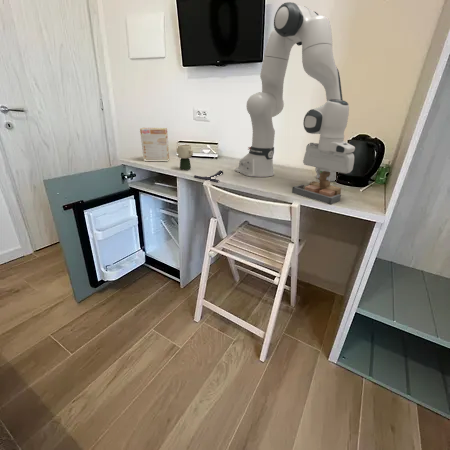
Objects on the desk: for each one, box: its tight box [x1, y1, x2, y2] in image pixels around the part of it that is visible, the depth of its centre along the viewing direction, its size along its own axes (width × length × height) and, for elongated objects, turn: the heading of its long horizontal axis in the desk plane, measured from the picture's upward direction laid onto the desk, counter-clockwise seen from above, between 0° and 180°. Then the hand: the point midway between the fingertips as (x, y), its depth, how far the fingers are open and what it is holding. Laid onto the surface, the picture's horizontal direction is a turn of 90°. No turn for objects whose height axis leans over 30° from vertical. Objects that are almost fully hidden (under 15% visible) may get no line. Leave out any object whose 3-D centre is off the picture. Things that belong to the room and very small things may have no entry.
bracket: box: [193, 170, 224, 183], centre depth 132 cm, size 14×15×3 cm
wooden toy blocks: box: [308, 171, 342, 196], centre depth 109 cm, size 13×3×9 cm, turn 41°
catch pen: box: [291, 183, 342, 205], centre depth 107 cm, size 18×7×2 cm, turn 41°
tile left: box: [304, 184, 320, 194], centre depth 111 cm, size 4×4×3 cm
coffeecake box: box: [139, 127, 170, 160], centre depth 160 cm, size 15×7×20 cm, turn 91°
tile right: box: [319, 189, 335, 197], centre depth 107 cm, size 4×4×3 cm
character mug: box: [176, 144, 194, 170], centre depth 143 cm, size 11×7×13 cm, turn 59°
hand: (323, 179), depth 108 cm, fingers closed on wooden toy blocks, 3 cm apart
